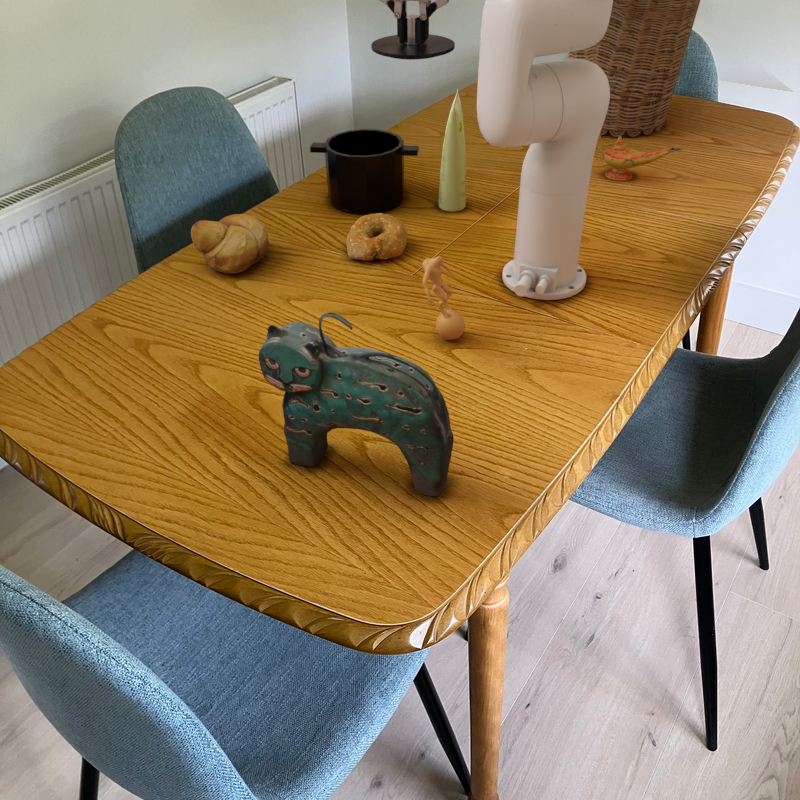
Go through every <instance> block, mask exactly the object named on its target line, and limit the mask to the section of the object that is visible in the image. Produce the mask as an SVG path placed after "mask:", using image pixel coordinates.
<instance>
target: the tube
mask: <svg viewBox="0 0 800 800" xmlns="http://www.w3.org/2000/svg"><path fill="white" fill-rule="evenodd" d="M452 101H453V102H452V104H451V107H450V110H449V114H448V118H447V122H446V127H445V131H444V137H443V142H442V149H441V150H442V151H441V161H440V171H439V185H438V203H437V204H438V208H439V209H440V210H443V211H445V212H451V213H452V212H453V213H455V212H460V211H463V210H464V209H465V208H466V205H467V154H466V153H467V150H466V135H465V127H464V126H465V124H464V115H463V108H462V102H461V98H460V94H459V89H458V88H457V89H456V93H455V97H454V99H453V100H452Z"/></svg>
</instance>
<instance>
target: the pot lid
mask: <svg viewBox="0 0 800 800" xmlns="http://www.w3.org/2000/svg"><path fill="white" fill-rule="evenodd" d="M419 16H420V14H407V16H406V17H405V26H406V42H405V43H403V44H401V43H400V42H399V37H398V36H397V34H393V35H387V36H383V37H380V38H377V39H376V40H374V41H372V42H371V44H370V46H371V47H370V48H371V51H372V52H373V53H375V54H377V55H379V56H382V57H386V58H392V59H397V60H410V61H411V60H426V59H431V58H435V57H440V56H444V55H448V54H450V53H451V52H453V51H454V50H455V45H456V44H455V41H454V40H453V39H451V38H448V37H446V36H442V35H438V34H430V33H429V37H428V39H427V40H426V42H425V43H423V44H422V45H418V44H417V21H418V20H419Z"/></svg>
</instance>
